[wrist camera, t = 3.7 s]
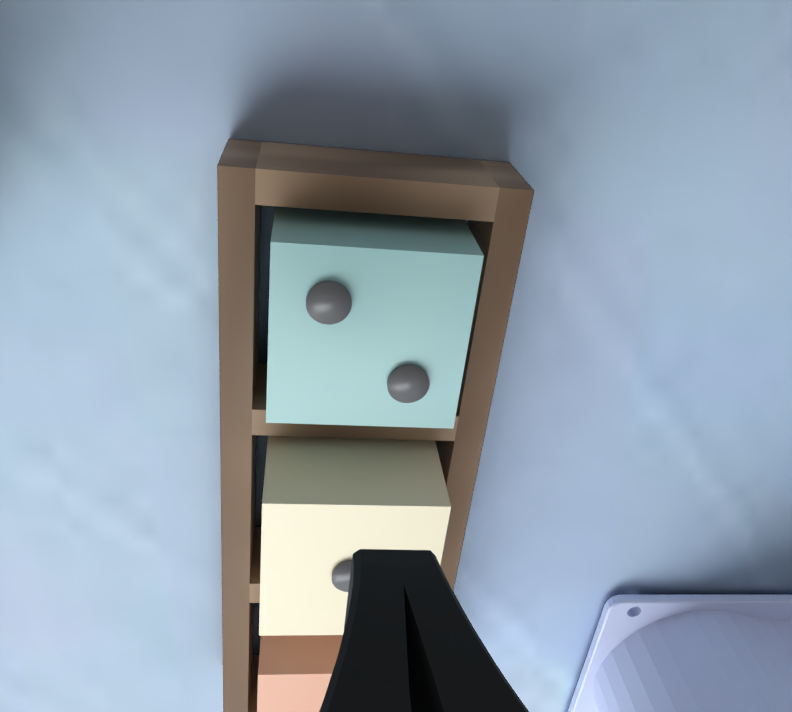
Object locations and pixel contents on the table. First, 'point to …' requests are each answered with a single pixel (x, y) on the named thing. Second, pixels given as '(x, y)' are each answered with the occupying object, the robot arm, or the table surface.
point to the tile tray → (247, 378)
